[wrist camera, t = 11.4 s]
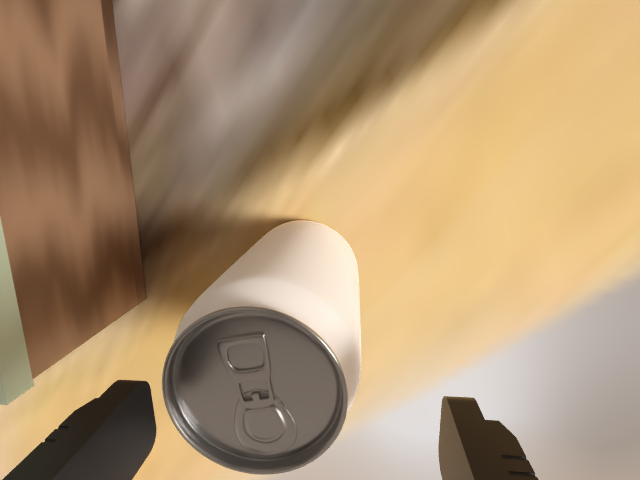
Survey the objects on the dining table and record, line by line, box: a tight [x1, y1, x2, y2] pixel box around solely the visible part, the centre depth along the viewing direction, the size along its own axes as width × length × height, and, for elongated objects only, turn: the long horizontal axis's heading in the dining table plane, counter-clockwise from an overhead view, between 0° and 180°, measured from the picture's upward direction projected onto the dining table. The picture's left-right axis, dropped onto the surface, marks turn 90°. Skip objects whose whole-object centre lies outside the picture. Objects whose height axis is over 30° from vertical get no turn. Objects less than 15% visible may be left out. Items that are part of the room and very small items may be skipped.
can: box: [162, 220, 361, 474], centre depth 17 cm, size 6×6×12 cm
